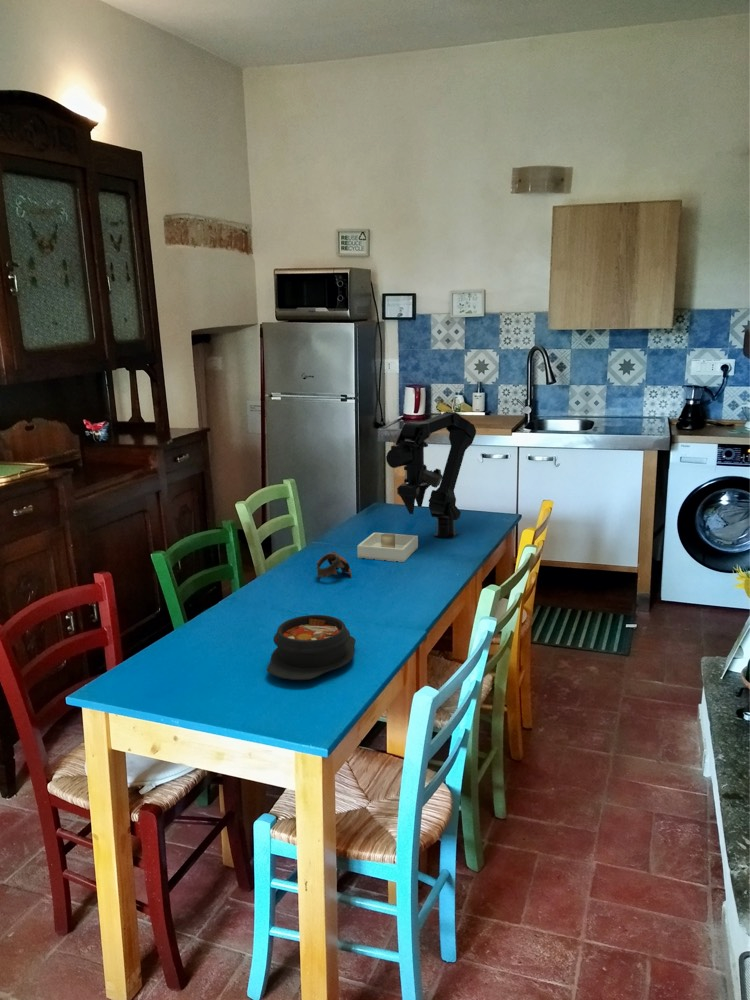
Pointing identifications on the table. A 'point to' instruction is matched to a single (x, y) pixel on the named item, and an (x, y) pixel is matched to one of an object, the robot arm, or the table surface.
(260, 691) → the table surface
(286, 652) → the casserole
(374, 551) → the gray and white box
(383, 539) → the wooden cylinder
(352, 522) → the table surface
